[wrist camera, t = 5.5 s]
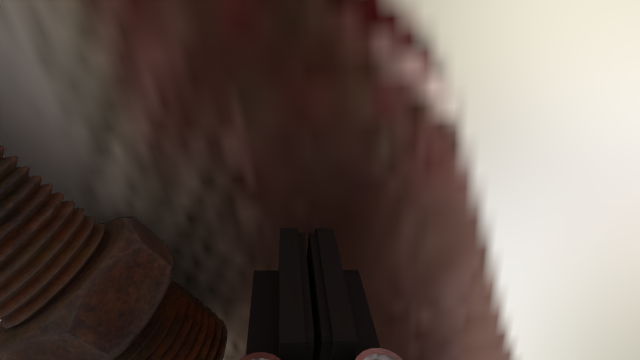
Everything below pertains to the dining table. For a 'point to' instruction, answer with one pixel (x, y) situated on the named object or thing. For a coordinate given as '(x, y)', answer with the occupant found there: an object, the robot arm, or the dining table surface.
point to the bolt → (90, 284)
